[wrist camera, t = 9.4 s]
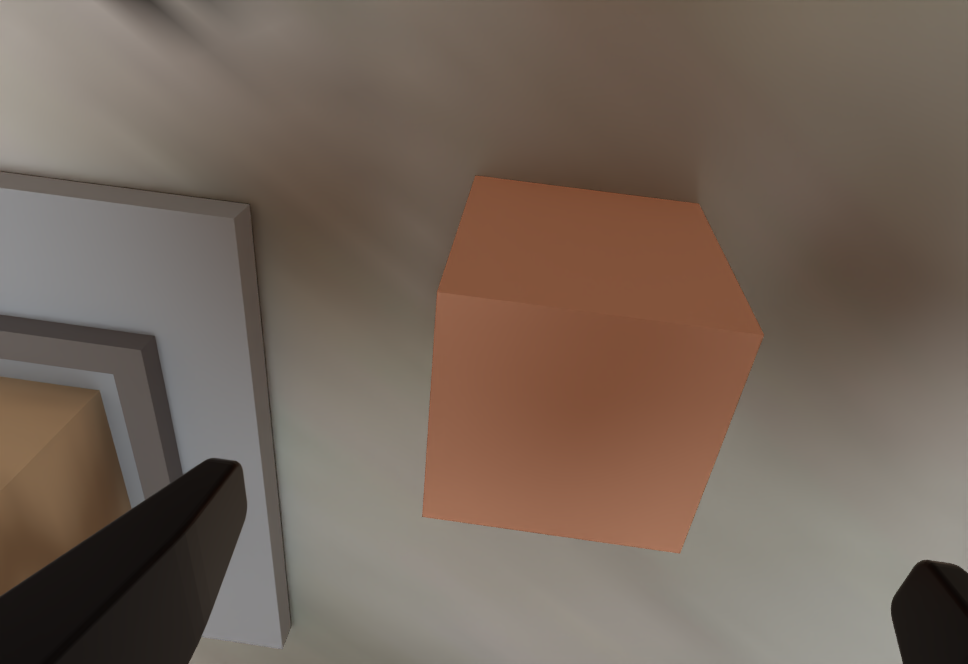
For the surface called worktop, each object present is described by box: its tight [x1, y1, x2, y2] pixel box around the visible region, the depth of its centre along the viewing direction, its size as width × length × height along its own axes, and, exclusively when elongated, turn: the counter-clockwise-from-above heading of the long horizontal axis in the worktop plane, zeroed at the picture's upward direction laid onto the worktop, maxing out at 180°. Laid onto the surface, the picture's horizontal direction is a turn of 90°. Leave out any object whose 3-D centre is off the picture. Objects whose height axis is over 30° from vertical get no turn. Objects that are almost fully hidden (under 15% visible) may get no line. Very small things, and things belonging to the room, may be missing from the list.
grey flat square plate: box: [0, 172, 291, 649], centre depth 18 cm, size 15×13×1 cm
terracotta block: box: [422, 175, 764, 553], centre depth 12 cm, size 4×4×5 cm
